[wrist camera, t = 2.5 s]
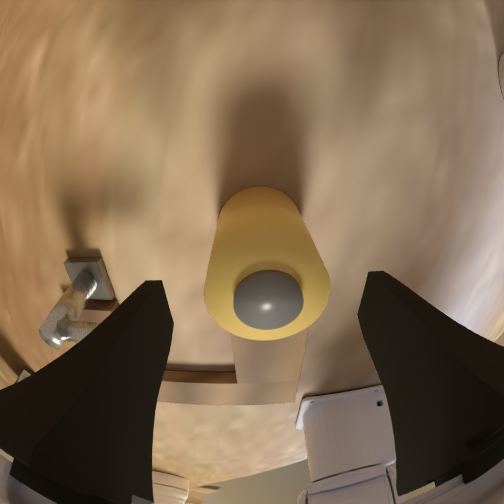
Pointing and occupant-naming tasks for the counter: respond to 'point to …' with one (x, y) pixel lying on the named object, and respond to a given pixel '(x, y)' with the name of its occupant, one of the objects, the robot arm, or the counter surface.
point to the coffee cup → (501, 73)
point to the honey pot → (169, 488)
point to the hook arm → (76, 302)
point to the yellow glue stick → (264, 268)
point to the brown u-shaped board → (230, 383)
